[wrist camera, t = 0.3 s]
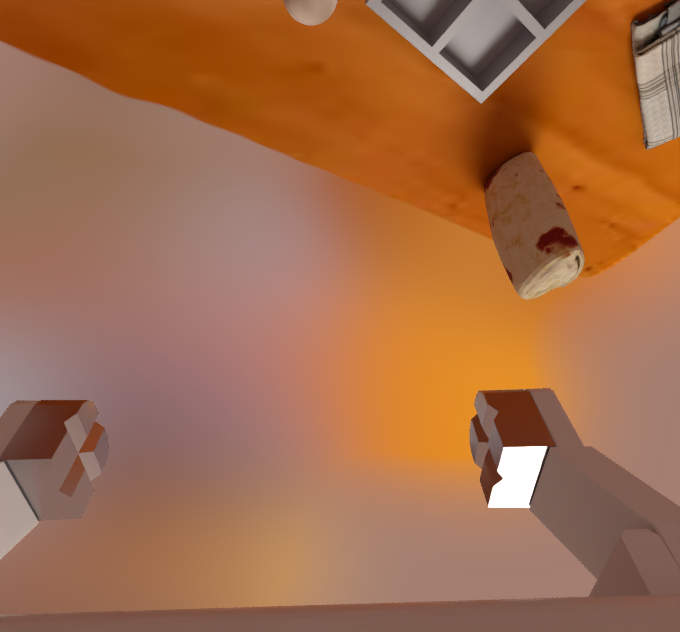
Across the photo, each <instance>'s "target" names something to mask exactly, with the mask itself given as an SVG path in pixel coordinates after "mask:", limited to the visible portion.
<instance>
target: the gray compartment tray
mask: <svg viewBox="0 0 680 632" xmlns="http://www.w3.org/2000/svg"><path fill="white" fill-rule="evenodd" d="M585 1H586V0H365V3H366V5H367V6H368V7H370V8H371V9H372V10H373V11H374V12H375V13H377V14H378V15H379V16H380V17H381V18H382V19H384V20H385V21H386V22H387V23H388V24H389V25H390V26H392V27H393V28H394V29H395V30H396V31H397V32H399V33H400V34H401V35H402V36H403V37H404V38H406V39H407V40H408V41H409V42H410V43H411V44H412V45H414V46H415V47H416V48H417V49H418V50H419V51H421V52H422V53H423V54H424V55H425V56H426V57H428V58H429V59H430V60H431V61H432V62H433V63H434V64H436V65H437V66H438V67H439V68H440V69H441V70H443V71H444V72H445V73H446V74H447V75H448V76H450V77H451V78H452V79H453V80H454V81H455V82H456V83H458V84H459V85H460V86H461V87H462V88H463V89H465V90H466V91H467V92H468V93H469V94H470V95H472V96H473V97H474V98H475V99H476V100H477V101H478V102H480V103H481V104H482V103H483V102H484V101H485V100H486V99H487V98H488V97H489V96H490V95H491V94H492V93H493V92H494V91H495V90H496V89H497V88H498V87H499V86H500V85H501V84H502V83H503V82H504V81H505V80H506V79H507V78H508V77H509V76H510V75H511V74H512V73H513V72H514V71H515V70H516V69H517V68H518V67H519V66H520V65H521V64H522V63H523V62H524V61H525V60H526V59H527V58H528V57H529V56H530V55H531V54H532V53H533V52H534V51H535V50H536V49H537V48H538V47H539V46H540V45H541V44H542V43H543V42H544V41H545V40H546V39H547V38H548V37H549V36H550V35H551V34H553V33H554V32H555V31H556V30H557V29H558V28H559V27H560V26H561V25H562V24H563V23H564V22H565V21H566V20H567V19H568V18H569V17H570V16H571V15H572V14H573V13H574V12H575V11H576V10H577V9H578V8H579V7H580V6H581V5H582V4H583V3H584V2H585Z"/></svg>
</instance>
